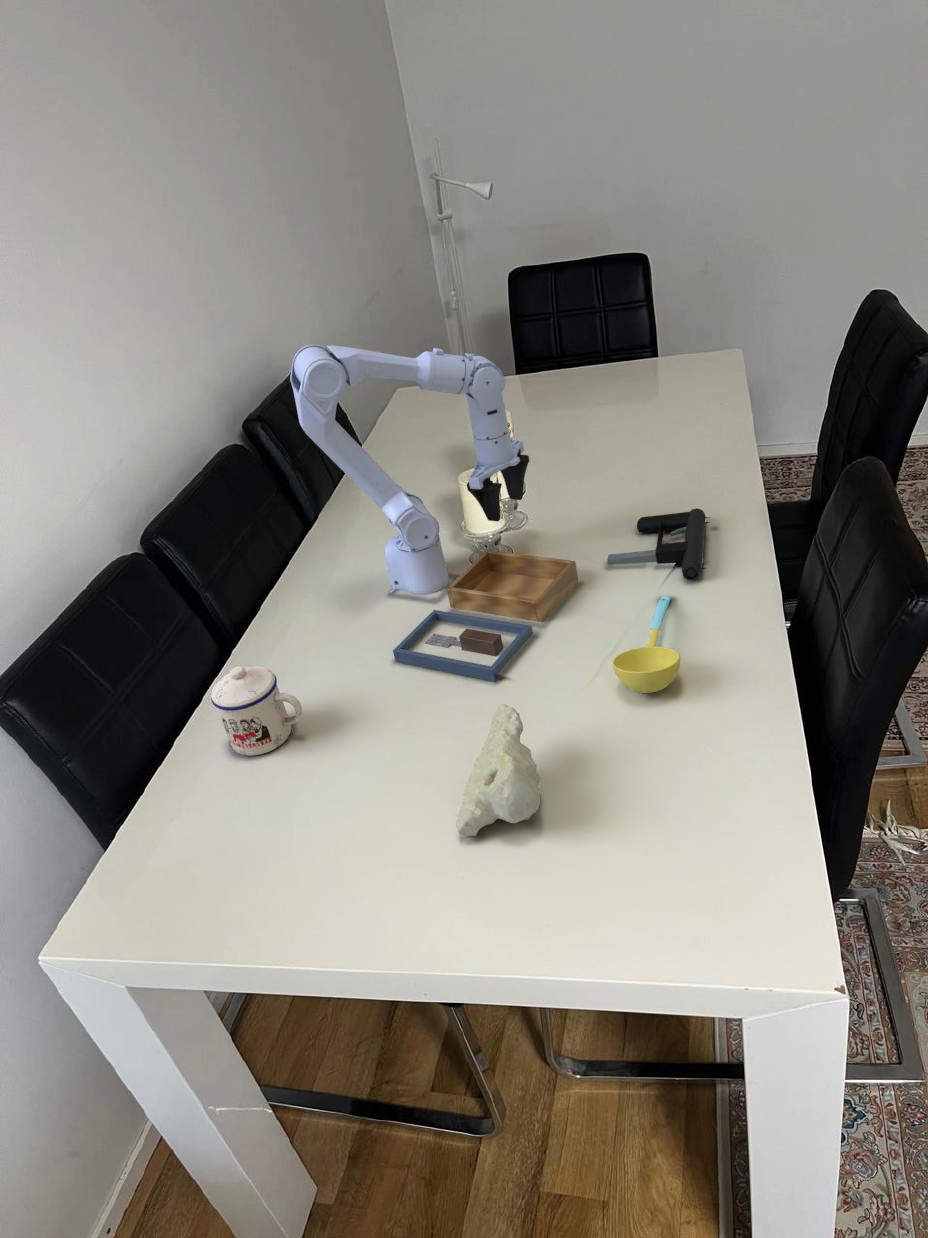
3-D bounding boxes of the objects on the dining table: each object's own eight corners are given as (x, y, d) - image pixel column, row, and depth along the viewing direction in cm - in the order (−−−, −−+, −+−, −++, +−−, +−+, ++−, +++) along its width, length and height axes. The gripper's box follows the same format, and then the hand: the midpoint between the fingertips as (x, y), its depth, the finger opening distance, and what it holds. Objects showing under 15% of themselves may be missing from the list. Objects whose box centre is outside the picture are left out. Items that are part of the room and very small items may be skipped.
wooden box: (451, 611, 157) (446, 589, 154) (490, 572, 165) (486, 550, 163) (542, 626, 148) (538, 602, 146) (579, 584, 156) (575, 560, 154)
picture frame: (395, 661, 147) (392, 650, 146) (436, 620, 155) (433, 609, 154) (495, 682, 138) (492, 670, 137) (533, 637, 146) (531, 625, 145)
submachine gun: (602, 574, 153) (707, 563, 148) (615, 514, 169) (711, 503, 164) (605, 592, 154) (710, 582, 149) (619, 531, 171) (713, 521, 165)
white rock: (517, 875, 110) (588, 761, 109) (464, 848, 107) (535, 731, 107) (483, 824, 124) (545, 723, 124) (435, 799, 122) (498, 696, 122)
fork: (504, 648, 144) (501, 633, 142) (495, 657, 142) (492, 643, 141) (433, 635, 150) (430, 621, 149) (425, 644, 149) (421, 630, 147)
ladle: (610, 705, 127) (605, 664, 126) (641, 631, 151) (637, 595, 149) (679, 704, 124) (674, 662, 122) (699, 628, 148) (696, 592, 146)
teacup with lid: (220, 758, 135) (192, 691, 129) (246, 716, 143) (220, 651, 137) (299, 758, 132) (274, 689, 126) (321, 715, 139) (299, 648, 133)
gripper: (489, 453, 149) (504, 532, 156) (534, 415, 158) (546, 491, 165) (451, 450, 152) (467, 528, 159) (497, 414, 162) (510, 488, 169)
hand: (505, 509), depth 163 cm, fingers open, 7 cm apart
